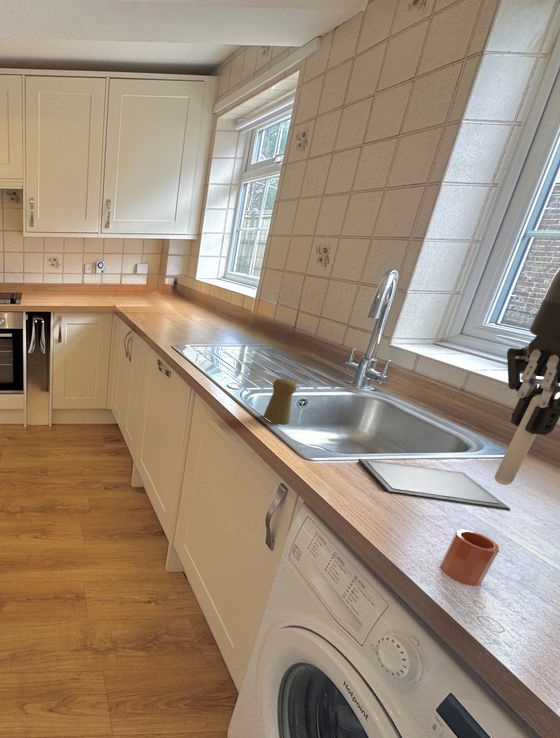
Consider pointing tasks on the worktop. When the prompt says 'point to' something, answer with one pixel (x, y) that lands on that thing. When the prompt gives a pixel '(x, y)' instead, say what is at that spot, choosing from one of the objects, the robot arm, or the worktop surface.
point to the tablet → (430, 483)
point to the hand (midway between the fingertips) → (528, 428)
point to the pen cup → (469, 557)
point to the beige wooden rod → (517, 448)
